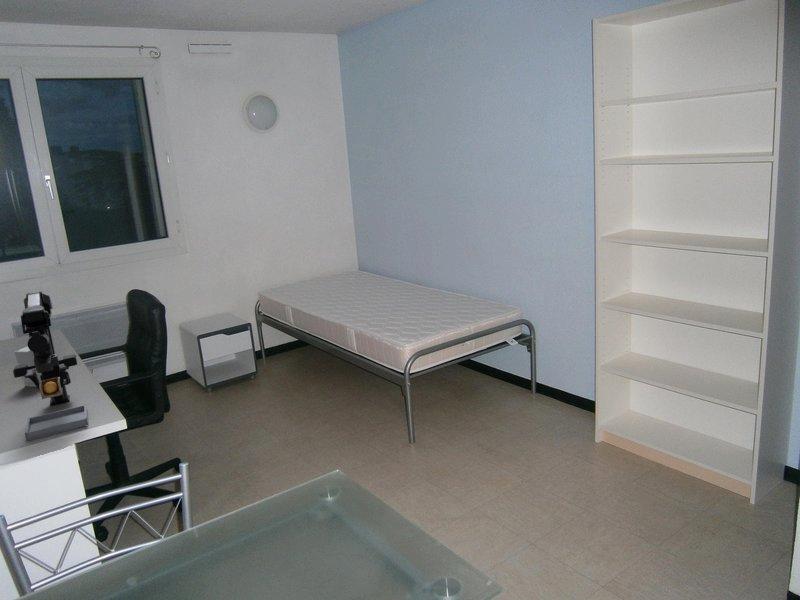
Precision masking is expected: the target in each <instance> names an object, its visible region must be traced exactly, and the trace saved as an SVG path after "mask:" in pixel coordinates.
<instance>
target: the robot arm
mask: <svg viewBox="0 0 800 600" xmlns="http://www.w3.org/2000/svg"><path fill="white" fill-rule="evenodd" d="M25 296H26V297H25V298H24V299H23V304H24V309H22V313H21V315H20V321H21V322H20V323H21V328H22V334H23V335H24V334H28V339H27V340H28V341H27V347H28V348H29V349H30V350H31V351H32V352H33V355H34V365H32V366H28V365H27V364H23V365H18V364H17V365H14V368H13V371H12V373H13V374H12V375H13V377H14V379H17V378H21V377H22V376H24V377H25V378H29V379H31V380H32V381H33V383H34V384H35V385H36V387H35V388H37V389H38V391H39V392H40V388H39V385H40V383H39V380H38V377H37V374H36V372H35V370H36V371H37V373H42V374H40V379H41V381H43V380H48V379H52V378H57V377H60V384H61V388H63V391H62V395H59V396H54V397H50V401H49V406H55V405H58V404H62V403H66V402H67V403H68V402H70V399H71V397H70V395H69V394H68V391H67V386H69V385H70V384H71V383H72V381H71V377H70V374H69V372H68V371H67V370H69V369H70V367H73V366H78V357H77V355H76V354H69V355H63V358H61V359H59V357H58V354H56V350H55V345H54V340H53V335H52V330H51V327H52V321H51V317H52V310H53V303H52V300H51V297H50V295H48V294H45V293H43V291H42V290H41V291H40V290H39V291H31V292H27V293H26V294H25Z"/></svg>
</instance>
